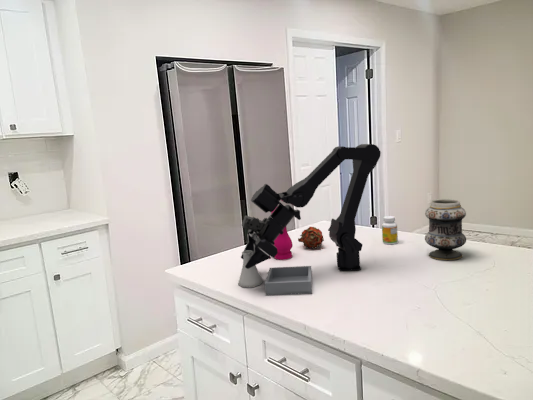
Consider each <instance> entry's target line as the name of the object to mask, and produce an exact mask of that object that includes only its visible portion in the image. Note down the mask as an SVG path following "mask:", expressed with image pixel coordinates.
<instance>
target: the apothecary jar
mask: <svg viewBox="0 0 533 400" xmlns="http://www.w3.org/2000/svg"><path fill="white" fill-rule="evenodd" d="M424 215H425V217H426V218H427V219H428V223H429V224H428V225H429V226H428V232H427V233H426V234H425V236H424V241H425V243H426V244H427V245H429V246H430V247H432V248H435V250H432V251H430V252H429V253H428V256H429V257H430V258H431V259H435V260H438V261H456V260H461V259H462V258H463V257H464V256H463V253H461V252H459V251H458V250H455V249H459V248H461V247H463V246H464V245H465V244H466V243H467V237H466V235H465V234H464V233H463V219H464V218H465V217H466V216H467V211H466V210H465V209H464V208H463V207H462V205H461V201H460V200H458V199H452V198H437V199H432V200H431V201H430V205H429V207H427V208H426V209H425V211H424Z"/></svg>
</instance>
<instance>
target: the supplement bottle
mask: <svg viewBox="0 0 533 400" xmlns="http://www.w3.org/2000/svg"><path fill="white" fill-rule="evenodd" d="M395 221H396V216H394V215H393V216H392V215H385V216H383V223H382V224H381V233H382V235H381V237H382V243H383V244H384V245H391V246H393V245H396V244H398V242H399V238H398V237H399V236H398V235H399V234H398V223H397V222H395Z"/></svg>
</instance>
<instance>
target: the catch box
mask: <svg viewBox="0 0 533 400" xmlns="http://www.w3.org/2000/svg"><path fill="white" fill-rule="evenodd" d="M312 270H313V269H312V265H302V266H301V265H300V266H298V265H297V266H282V267H281V266H279V267H269V269H268V272H267V275H266V278H265V281H264V289H265V296H283V295H284V296H286V295H290V296H291V295H312V294H313V271H312Z"/></svg>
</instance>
